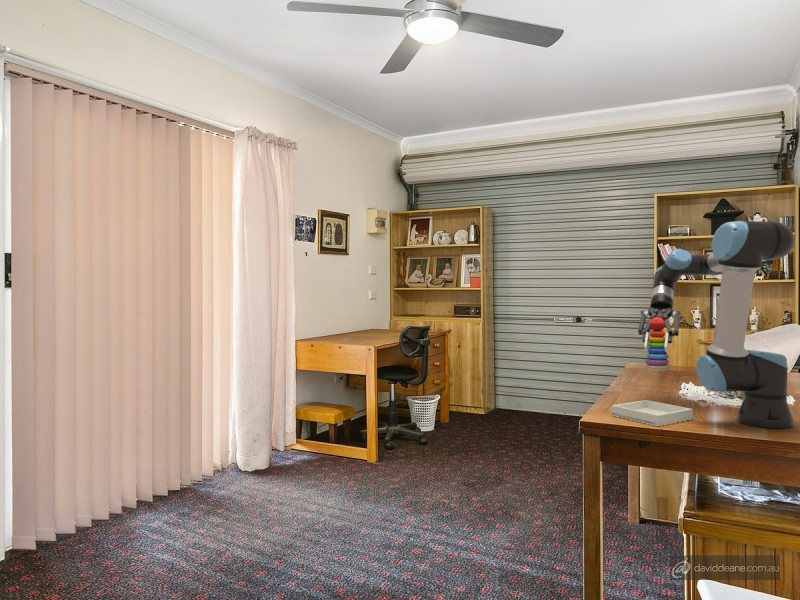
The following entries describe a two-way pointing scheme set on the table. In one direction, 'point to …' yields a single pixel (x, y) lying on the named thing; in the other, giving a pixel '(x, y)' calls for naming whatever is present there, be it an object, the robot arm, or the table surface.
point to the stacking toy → (657, 347)
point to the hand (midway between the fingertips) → (655, 349)
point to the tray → (652, 412)
